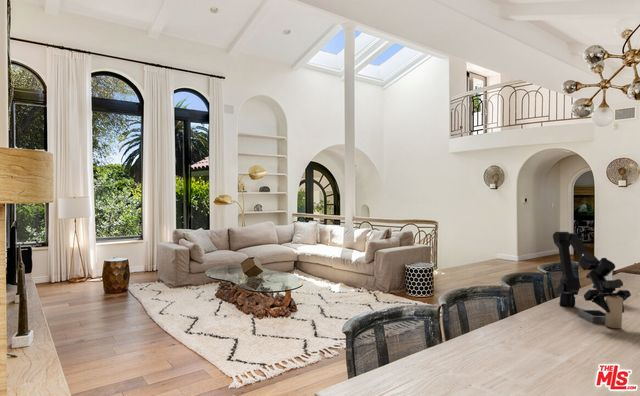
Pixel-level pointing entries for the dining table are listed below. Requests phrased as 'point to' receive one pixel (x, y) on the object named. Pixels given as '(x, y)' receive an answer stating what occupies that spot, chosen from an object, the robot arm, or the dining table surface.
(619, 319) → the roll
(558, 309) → the dining table surface
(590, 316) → the tray
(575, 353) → the dining table surface
